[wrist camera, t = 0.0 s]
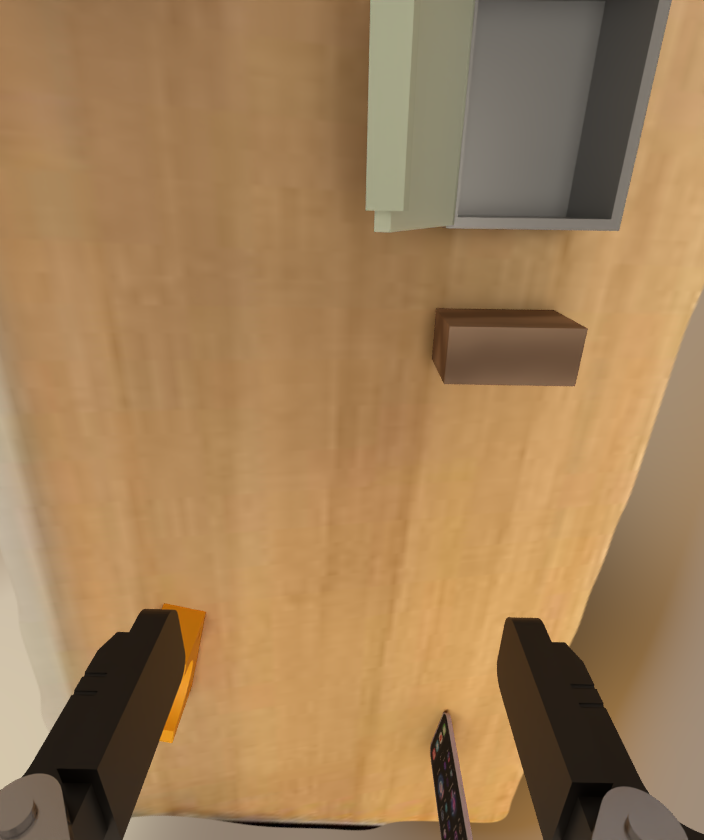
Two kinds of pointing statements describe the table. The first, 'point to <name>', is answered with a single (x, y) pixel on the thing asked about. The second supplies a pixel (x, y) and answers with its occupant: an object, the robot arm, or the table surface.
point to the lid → (416, 110)
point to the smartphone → (449, 784)
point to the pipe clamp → (191, 637)
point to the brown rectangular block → (507, 347)
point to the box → (555, 111)
